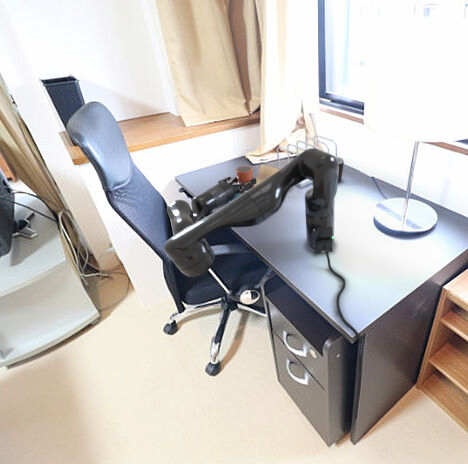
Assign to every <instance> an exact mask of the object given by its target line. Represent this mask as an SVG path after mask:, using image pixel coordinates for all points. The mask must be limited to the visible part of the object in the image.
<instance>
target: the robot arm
mask: <svg viewBox="0 0 468 464" xmlns="http://www.w3.org/2000/svg"><path fill="white" fill-rule="evenodd" d="M317 148H318V147H317ZM317 148H314V147H310V148H307V150H306V149H305V151H304V150H303V151H302V152H301V153H300V154H299V153H298V156H297V155H296V157H294V158H293V159H292V160H291V161H290V163H288V162H287V164H286V165H285V166H283V167H282V168H280V170H279V171H278V172H276V173H274V174H273V175H271V176H270V177H268V178H267V179H265V180H264V181H262V182H261V183H259V184H257V185H256V186H254V187H253V185H254V184H256V183H257V181H256V177H253V179H252V180H250V181H249V182H239V183H238V182H237V176H233V177H231V176H227V177H225V178H223V179H220V180H218V181H217V184H215V185H213V186H211V187H209V188H208V189H206V190H205V191H203V192H201V193H199V194H197V195H195V196H193V198H191V203H190V204H191V205H190V204H189V202H188V201H186V200H184V199H176V200H173V201H171V202H170V203H169V204H168V205H167V208H166V212H167V215H168V218H169V219H170V222H171V229H172V234H173V235H172V236H171V237H170V238H168V239H167V240H166V241H165V243H164V245H163V252H164V253H165V254H166V255H167V256H168V258H169V260H171V262H172V263H173V264H174V265H175V267H176V268H177V269H178V270H179V271H180V272H181V273H182V274H183V275H184V276H185V277H187V278H188V277H189V278H196V277H200V276H202V275H204V274H205V273H206V272H208V271H209V270H210V269H211V268H212V267H213V265H214V263H215V260H216V254H215V252H214V249H213V248H212V247H211V246H210V244H209V242H208V241H207V240H206V238H205V237H207V236H208V235H210V234H212V233H214V232H217V231H219V230H223V229H229V228H250V227H256V226H259V225H261V224H262V223H263V222H265V221H267V220H268V219H270V218H271V217H273V216H274V215H275V214H276V213H278V212H279V211H280V209H281V208H282V206H283V205H284V203H285V201H286V199H287V197H288V195H289V194H290V192H291V191H292V189H293V188H295V187H296V186H297V184H299V183H300V182H302V181H304V180H306V179H309V180H311V181H313V182H312V188H309V189H307V191H306V192H305V193H304V211H305V212H304V213H305V231H306V248H307V249H308V251H310V252H312V253H313V254H314V255H320V254H325V256H326V259H327V266H328V269H329V271H330V272H331V273H332V274H333V275H334V276H336V277H338V278H339V279H341V281H342V286H341V288H340V290H339V292H337V293H338V294H337V295H336V310H337V312H338V316H339V317H340V319H341V321H342V322H343V324H344V326H346V327H347V328H348V329H350V330H351V331H352V332H353V333H354V335H355V336H356V339H357V341H358V343H360V344H362V343H363V342H362V338H361V335H360V333H359V332H358V331H357V330H356V328H355V327H353V326H352V325H351V324H350V323H349V322H348V321H347V320H346V319H345V317H344V316H343V312H342V310H341V307H340V298H341V295H342V293H343V292H344V290H345V289H346V283H347V282H346V279H345V278H344V277H343V275H340V273H337V272H336V271H335V270H334V269H333V268H332V265H331V259H330V258H331V257H330V255H329V253H332V252H333V250H334V247H335V203H336V202H335V200H336V199H335V197H336V195H337V193H338V188H339V187H338V186H339V183H338V175H339V165H338V161H337V159H336V155H333V154H331V153H330V152H329V153H328V151H324V150H322V149H320V148H318V149H317ZM247 184H248V185H247ZM241 185H242V186H243V189H242V187H241ZM245 185H247V186H246V187H245ZM239 193H243V194H242V195H240V196H239V197H237V198H236V199H234V200H233V201H231V200H232V199H233V198H234V196H235V195H236V194H239ZM229 201H231V202H230V203H228V204H227V205H225V204H226V203H227V202H229ZM218 208H219V209H218ZM216 209H217V210H216ZM214 210H216V211H214ZM213 211H214V212H213ZM210 212H212V213H210ZM209 213H210V214H209ZM207 214H208V215H207ZM206 215H207V216H206ZM362 373H363V354H358V380H357V381H358V382H357V393H356V400H355V401H356V402H355V409H354V419H355V420H357V419H358V414H359V413H358V412H359V403H360V396H361V389H362V377H363V376H362V375H363V374H362Z"/></svg>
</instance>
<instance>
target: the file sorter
mask: <svg viewBox="0 0 468 464" xmlns="http://www.w3.org/2000/svg"><path fill="white" fill-rule="evenodd" d="M316 137H318V138H321V139H323V140H327V141H330V142H333V143H334V145H335V157H338V144H337V142H336V141H335V140H334V139H331V138H328V137H325V136H322V135H318V134H316V135H314V136H313V138H312V137H306V138H305V140H304V141H303V140H300V139H299V140H297V141H296V144H293V143H288V144H287V146H286V148H285V147H283V146H278V147H277V148H276V156H277V165H278V169H280V170H281V164H280V163H281V162H280V155H279V149H281V150H283V151H285V152H287V164H288V163H290V162H291V161H290V153H291V154H293V155H295V156H296V157H297V156H298V155H299V150H301V151H303V152H304V151H305V150H307V149H308V146H310V147H311V148H317V149H319V148H318V146H316V142H317V143H320V144H323V145H325V146H326V147H327V153H329V154H330V147H329V146H330V145H329V144H327V143H326V142H323V141H320V140H318V139H316ZM308 140H311V141H313V144H310V143H308V142H307V141H308ZM299 143H301V144H304V146H305V147H304V148H302V147H301V146H299ZM290 146H292V147H294V148H296V152H295V151H292V150H290V149H289V147H290ZM310 184H313V181H311V180H309V179H306V180H304V181H302V182H300V183H299V184H297V185H296V186H297V187H298V188H304V187H306V186H308V185H310Z"/></svg>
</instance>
